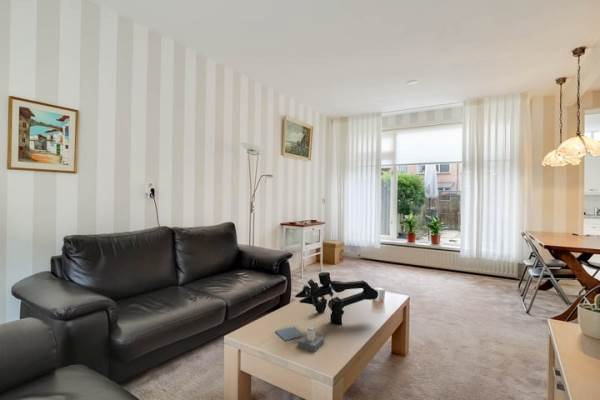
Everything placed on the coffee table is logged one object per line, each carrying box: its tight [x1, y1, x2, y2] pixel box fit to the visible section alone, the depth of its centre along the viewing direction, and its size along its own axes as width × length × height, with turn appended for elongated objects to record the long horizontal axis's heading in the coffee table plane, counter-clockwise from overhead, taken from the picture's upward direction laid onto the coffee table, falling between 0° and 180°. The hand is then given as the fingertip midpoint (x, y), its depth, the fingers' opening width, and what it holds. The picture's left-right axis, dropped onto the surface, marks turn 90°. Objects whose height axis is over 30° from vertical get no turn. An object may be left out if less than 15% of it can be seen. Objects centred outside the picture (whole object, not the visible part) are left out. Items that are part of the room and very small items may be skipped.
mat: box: [274, 326, 305, 342], centre depth 166 cm, size 12×12×1 cm
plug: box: [306, 325, 316, 342], centre depth 154 cm, size 3×3×9 cm
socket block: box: [297, 333, 325, 353], centre depth 154 cm, size 10×10×3 cm
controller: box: [312, 295, 328, 314], centre depth 198 cm, size 4×12×10 cm, turn 142°
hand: (297, 299), depth 176 cm, fingers open, 9 cm apart
